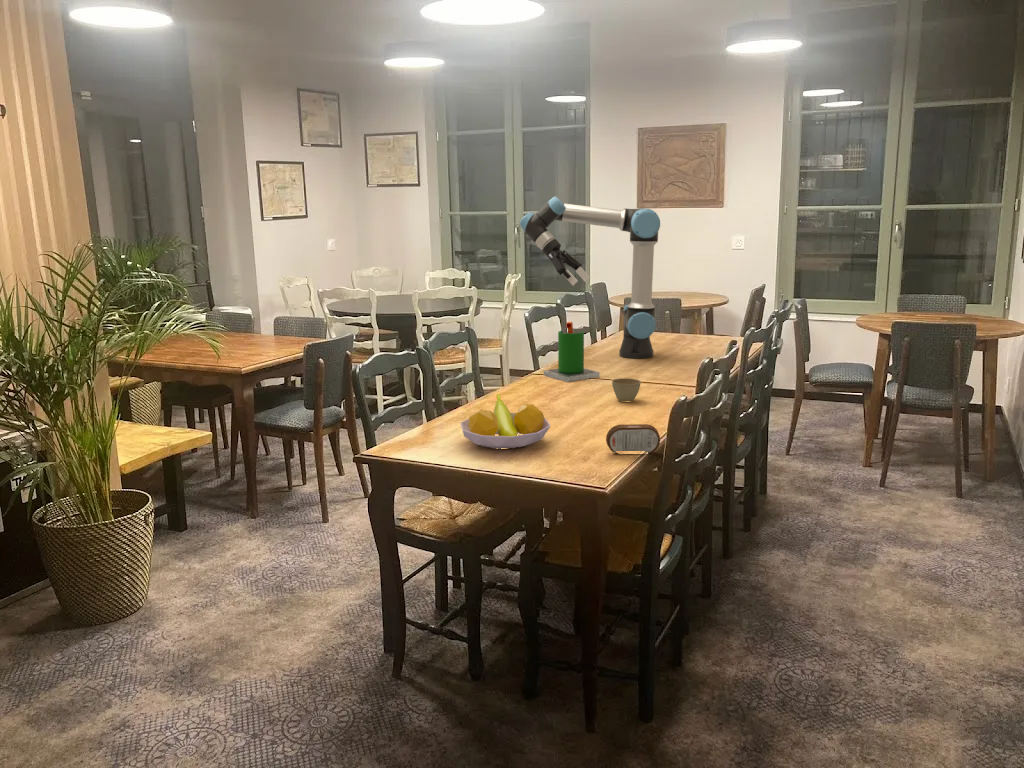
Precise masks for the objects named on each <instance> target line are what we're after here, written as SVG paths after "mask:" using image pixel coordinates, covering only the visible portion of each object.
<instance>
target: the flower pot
mask: <svg viewBox="0 0 1024 768" xmlns="http://www.w3.org/2000/svg"><path fill="white" fill-rule="evenodd" d="M641 383H642V381H641V380H639V379H636V378H630V377H629V378H626V377H625V378H623V377H622V378H621V377H620V378H615V379H613V380H611V385H612V389H613V392H614V395H615V397H616V398H617V400H618V401H619V402H620V401H633V402H634V400H635V399H636V397H637V395H638V393H639V391H640V388H641Z"/></svg>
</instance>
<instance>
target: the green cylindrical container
mask: <svg viewBox="0 0 1024 768" xmlns="http://www.w3.org/2000/svg"><path fill="white" fill-rule="evenodd" d="M566 329H567V333H565V332H563V330H560V331H558V333H557V335H558V336H557V341H558V342H557V346H558V347H557V352H558V353H557V355H558V356H557V357H558V359H557V360H558V361H557V362H558V364H557V365H558V371H560V372H564V373H578V372H583V371H584V368H585V361H584V360H585V331H580V332H577V333H574V326H573V321H566Z"/></svg>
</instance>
